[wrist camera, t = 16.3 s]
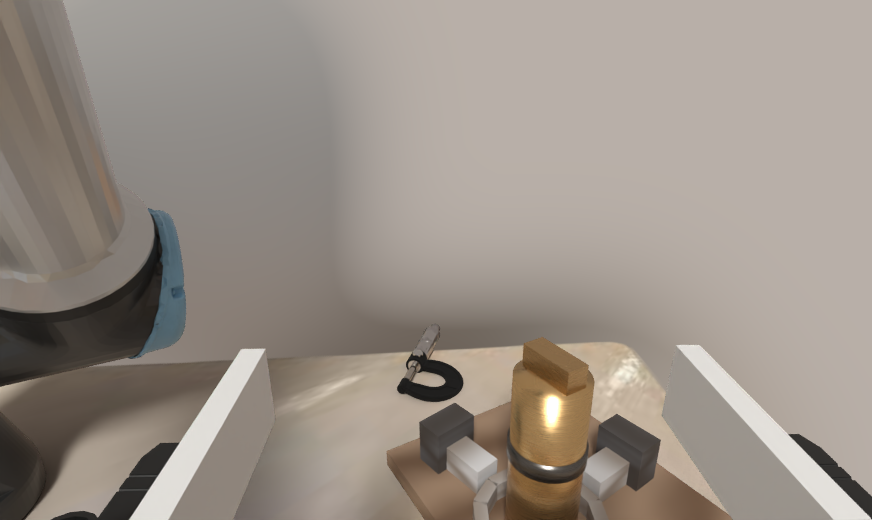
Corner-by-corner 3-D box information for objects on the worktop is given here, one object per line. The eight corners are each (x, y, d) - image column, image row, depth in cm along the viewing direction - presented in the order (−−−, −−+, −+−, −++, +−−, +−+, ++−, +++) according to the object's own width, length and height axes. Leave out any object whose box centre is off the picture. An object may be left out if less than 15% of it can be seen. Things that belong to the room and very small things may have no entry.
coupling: (487, 520, 37) (494, 346, 32) (542, 491, 39) (556, 326, 34) (536, 578, 32) (552, 388, 27) (593, 541, 35) (618, 361, 30)
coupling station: (387, 464, 44) (384, 415, 42) (548, 397, 53) (552, 354, 51) (539, 688, 28) (546, 623, 26) (735, 537, 37) (750, 481, 35)
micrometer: (455, 409, 52) (455, 388, 51) (391, 399, 54) (390, 379, 53) (480, 340, 66) (480, 323, 65) (428, 334, 67) (427, 317, 66)
